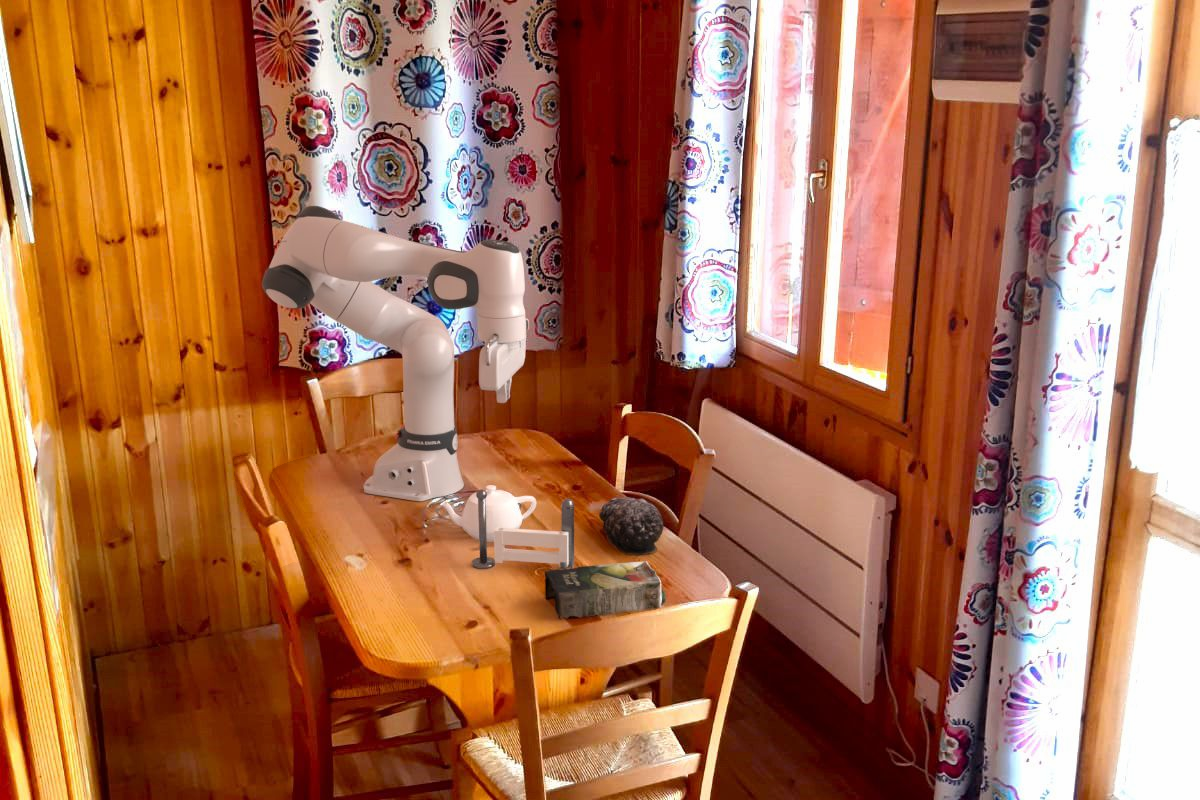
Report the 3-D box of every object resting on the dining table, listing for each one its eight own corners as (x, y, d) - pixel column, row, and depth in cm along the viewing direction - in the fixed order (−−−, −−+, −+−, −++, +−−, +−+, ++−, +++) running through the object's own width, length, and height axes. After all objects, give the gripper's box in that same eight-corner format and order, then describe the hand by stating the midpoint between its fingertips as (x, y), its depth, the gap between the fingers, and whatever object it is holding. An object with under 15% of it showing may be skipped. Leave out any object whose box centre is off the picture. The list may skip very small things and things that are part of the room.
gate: (494, 566, 207) (493, 531, 205) (497, 561, 209) (496, 526, 207) (567, 570, 206) (566, 535, 204) (568, 566, 207) (568, 531, 205)
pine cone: (624, 521, 229) (625, 477, 227) (672, 552, 215) (674, 504, 212) (581, 531, 224) (581, 486, 221) (628, 563, 210) (629, 515, 207)
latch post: (560, 567, 208) (560, 500, 204) (563, 562, 210) (562, 496, 206) (573, 568, 207) (572, 501, 203) (575, 563, 209) (575, 497, 206)
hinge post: (469, 568, 207) (466, 493, 203) (475, 558, 211) (473, 484, 207) (491, 570, 206) (489, 494, 202) (497, 560, 211) (495, 486, 206)
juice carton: (650, 584, 201) (651, 554, 199) (667, 609, 192) (668, 578, 190) (544, 598, 196) (543, 567, 194) (556, 624, 187) (556, 592, 185)
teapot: (447, 551, 215) (446, 503, 212) (435, 528, 226) (433, 482, 223) (545, 538, 221) (544, 491, 218) (528, 516, 232) (527, 471, 230)
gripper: (503, 342, 191) (505, 417, 195) (531, 318, 210) (532, 387, 214) (469, 340, 192) (471, 415, 196) (499, 317, 211) (501, 386, 215)
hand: (503, 400), depth 205 cm, fingers closed
